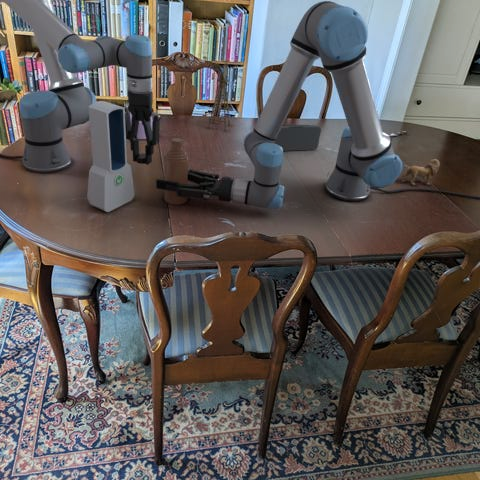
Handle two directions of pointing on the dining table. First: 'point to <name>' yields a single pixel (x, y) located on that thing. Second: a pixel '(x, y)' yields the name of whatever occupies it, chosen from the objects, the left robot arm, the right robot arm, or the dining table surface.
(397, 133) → the sword
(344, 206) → the dining table surface
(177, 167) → the bottle
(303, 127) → the handheld gaming console
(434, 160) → the lion figurine
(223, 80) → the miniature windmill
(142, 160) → the cap
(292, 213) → the dining table surface
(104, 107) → the electronic device
